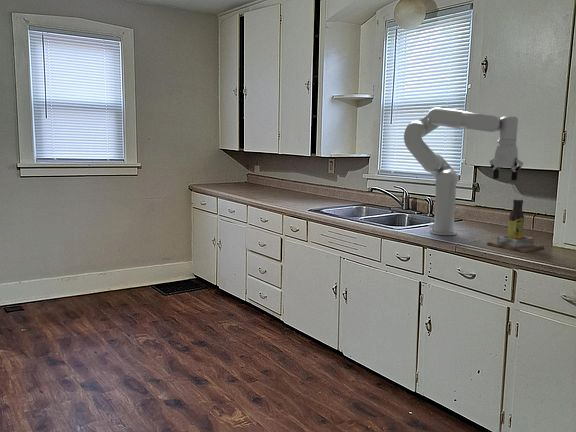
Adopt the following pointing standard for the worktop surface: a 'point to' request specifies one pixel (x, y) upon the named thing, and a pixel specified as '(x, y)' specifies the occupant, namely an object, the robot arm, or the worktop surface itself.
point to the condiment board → (516, 244)
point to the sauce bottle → (516, 221)
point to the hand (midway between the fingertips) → (504, 179)
